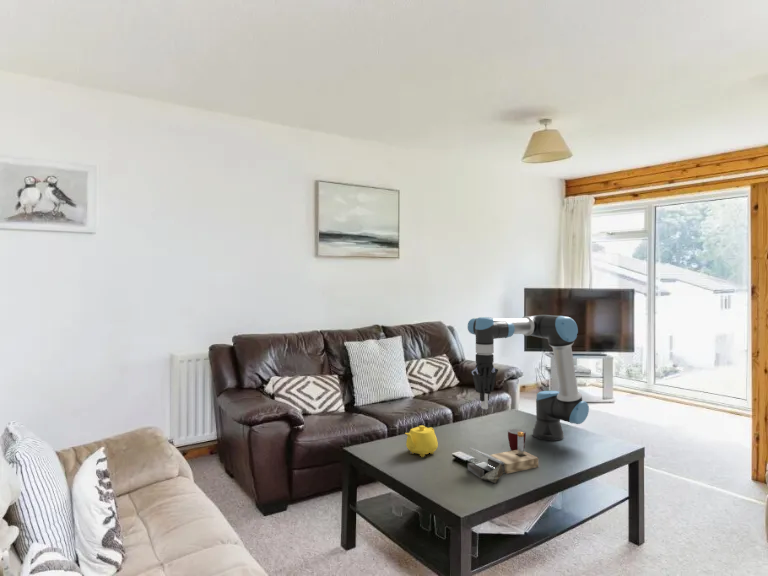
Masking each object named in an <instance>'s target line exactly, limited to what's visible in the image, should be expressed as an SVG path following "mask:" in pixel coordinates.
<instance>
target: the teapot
mask: <svg viewBox="0 0 768 576" xmlns="http://www.w3.org/2000/svg"><path fill="white" fill-rule="evenodd" d="M404 434H405V435H406V436H407V437H406V443H405V446H406V448H407V449H408V451H410V452H412V453H415V454H416V455H417V454H418V455H419V457H420V456H421V457H420V458H425V457H426V455H428V454H429V453H430V455H433V454H435V452H436V450H438V447H439V443H438V438H437V436H436V433H435V429H434V428H433V427H427V426H425V425H418V426H416V427H413V428H410V430H409V432H405V433H404ZM424 456H425V457H424Z"/></svg>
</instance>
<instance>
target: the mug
mask: <svg viewBox="0 0 768 576" xmlns="http://www.w3.org/2000/svg"><path fill="white" fill-rule="evenodd" d="M518 432H524V449H525V445H526V444H525V443H526V440H527V439H526V438H527V435H526V433H527V431H525V430H524V429H520V428H510V429H508V430H507V438H508V444H509V448H510V451H513V450H518Z"/></svg>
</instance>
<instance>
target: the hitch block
mask: <svg viewBox="0 0 768 576" xmlns="http://www.w3.org/2000/svg"><path fill="white" fill-rule="evenodd" d="M490 455H491V456H493V457H495V458H496V459H498V460H500V461H502V462H504V463H505V464H504V465H502V464H501V465H502V471H503V474H511V473H516V472H521V471H526V470H532V469H535V468H539V457H537V456H536V455H534V454H531V453H529V452H527V451H524V456H523V457H519V456H518V450H513V451H511V450H508V451H503V452H498V453H493V454H490ZM488 464H489V465H491V466H493V467H495V468H496V467H498V465H499V464H500V463H498V462H496V461H493V460H491V459H489V458H487V465H488ZM467 471H469V472H470V473H472V474H473V475H475V476H476V477H478V478H481V477H482V476H484V475H485V470H484V469H483V468H481V466H478V465H476V464H474V463H473V462H467Z"/></svg>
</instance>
